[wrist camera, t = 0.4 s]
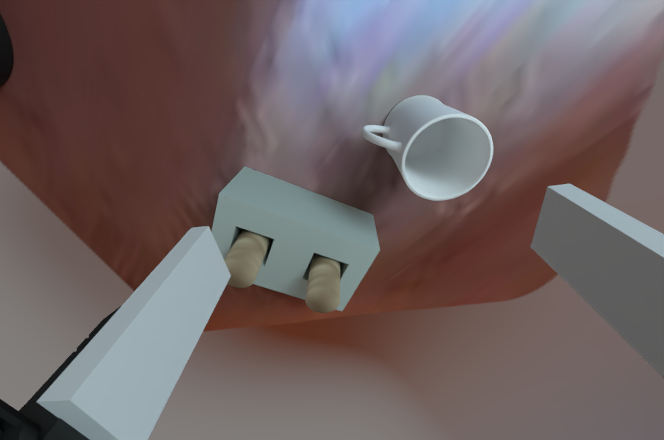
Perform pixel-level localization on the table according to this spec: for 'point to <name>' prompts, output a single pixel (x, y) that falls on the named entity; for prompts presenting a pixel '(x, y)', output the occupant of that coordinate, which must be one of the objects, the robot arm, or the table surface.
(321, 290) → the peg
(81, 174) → the table surface
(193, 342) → the robot arm
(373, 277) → the table surface
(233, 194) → the socket block
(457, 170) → the mug
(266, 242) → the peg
